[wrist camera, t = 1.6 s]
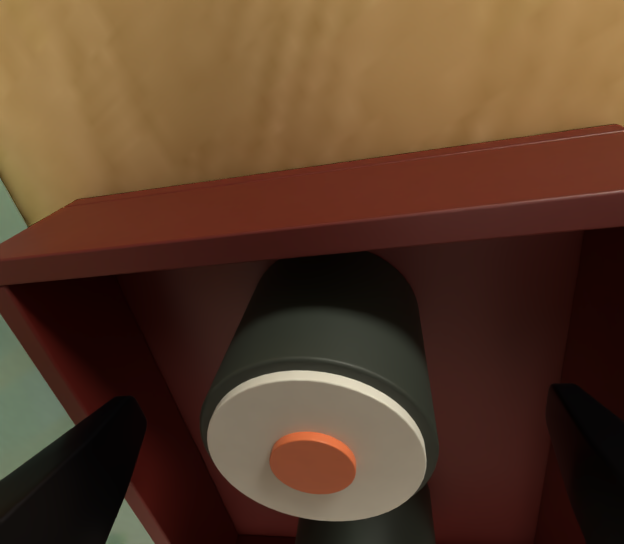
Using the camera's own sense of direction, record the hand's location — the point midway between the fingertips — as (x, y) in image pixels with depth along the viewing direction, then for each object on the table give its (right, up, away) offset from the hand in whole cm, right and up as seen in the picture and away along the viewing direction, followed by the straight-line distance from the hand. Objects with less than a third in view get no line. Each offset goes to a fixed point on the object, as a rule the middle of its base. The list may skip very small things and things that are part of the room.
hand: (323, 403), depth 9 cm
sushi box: (+1, -2, +5) cm, 5 cm away
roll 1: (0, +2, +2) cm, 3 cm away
